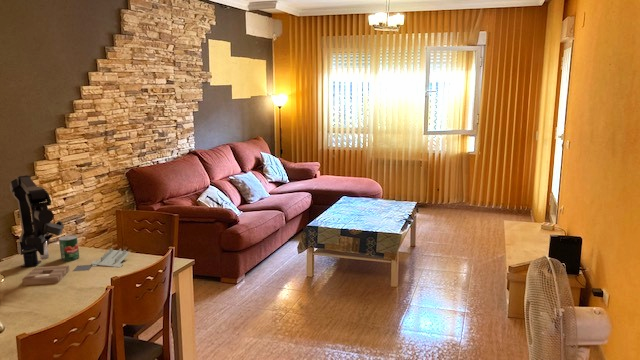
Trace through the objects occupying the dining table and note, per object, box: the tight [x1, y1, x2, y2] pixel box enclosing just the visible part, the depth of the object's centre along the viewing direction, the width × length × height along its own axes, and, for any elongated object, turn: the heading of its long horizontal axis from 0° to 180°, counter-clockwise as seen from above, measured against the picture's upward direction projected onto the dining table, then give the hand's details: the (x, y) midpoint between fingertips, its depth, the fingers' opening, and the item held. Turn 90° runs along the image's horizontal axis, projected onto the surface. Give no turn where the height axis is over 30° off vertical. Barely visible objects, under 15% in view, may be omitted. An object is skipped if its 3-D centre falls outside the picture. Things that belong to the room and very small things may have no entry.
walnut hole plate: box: [21, 264, 71, 286], centre depth 220 cm, size 14×14×3 cm
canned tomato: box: [58, 234, 80, 262], centre depth 242 cm, size 8×8×11 cm
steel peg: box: [39, 239, 50, 261], centre depth 217 cm, size 3×3×8 cm
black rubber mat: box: [72, 264, 93, 272], centre depth 231 cm, size 7×7×1 cm
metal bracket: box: [90, 247, 131, 268], centre depth 238 cm, size 14×6×15 cm
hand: (44, 253), depth 218 cm, fingers closed on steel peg, 3 cm apart
